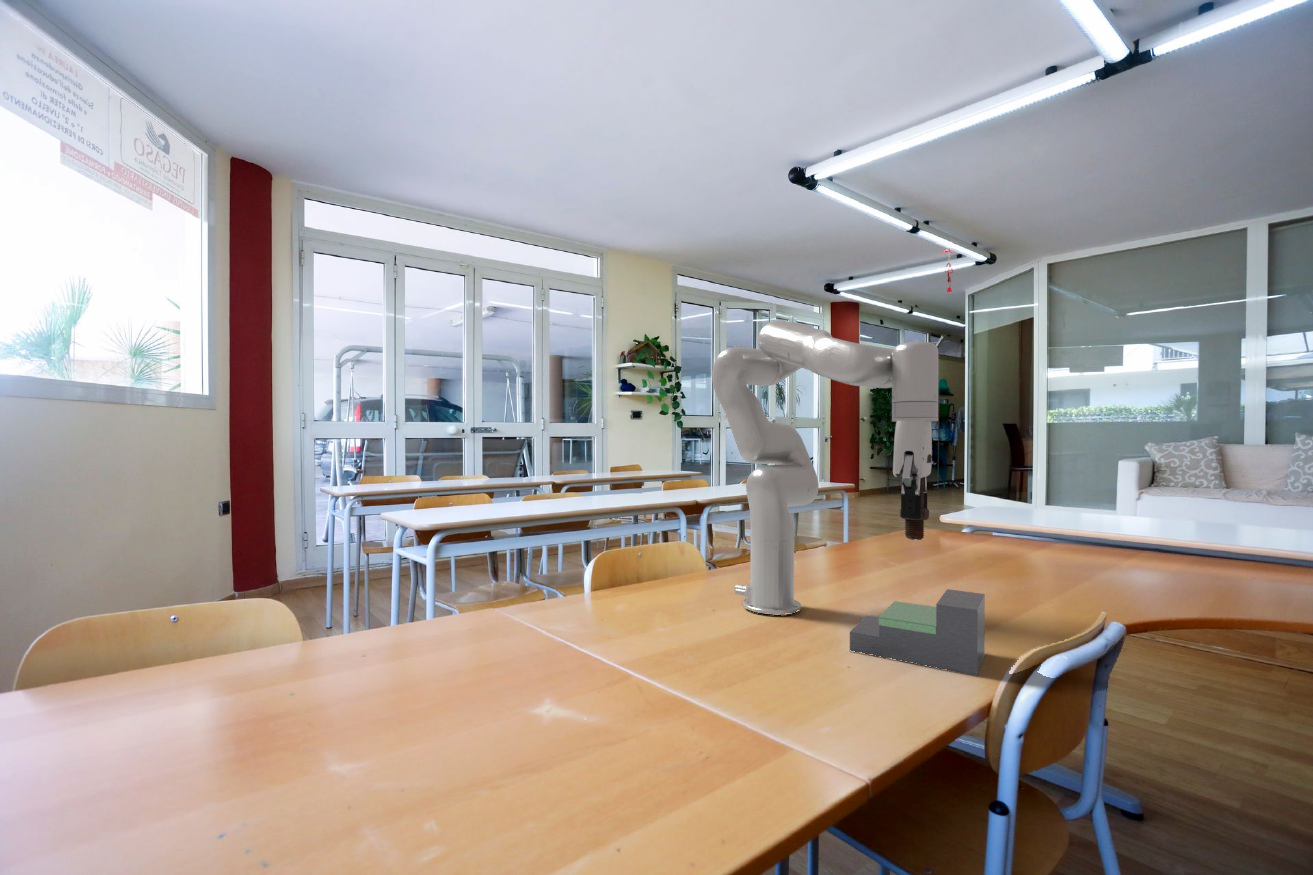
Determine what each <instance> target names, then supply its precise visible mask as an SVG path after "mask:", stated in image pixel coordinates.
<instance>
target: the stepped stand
mask: <svg viewBox="0 0 1313 875" xmlns="http://www.w3.org/2000/svg"><path fill="white" fill-rule="evenodd" d="M985 596H986V594H985V593H980V592H973V591H972V592H971V591H965V590H956V589H955V590H954V589H948V588H946V590H945V591H944V593H943V594H942V596H941V597H940V598H939V600H938V601H937V602H936V606H931V605H925V604H917V603H910V602H904V601H897V600H894V601H893V602H892V603H891V604H890V605H888V607H887V608H885V610H884V611H883V612H882V613H881V614H880V615H879V616H873V615H868V614H867V615H866V616H865V617H864V618H863V619H862V620H861V621H859V623H857V624H856V625H855V626H854V627H852V629H851V630H850V631H849V651H850V650H851V651H855V652H862V653H865V654H873V655H876V656H881V657H885V658H884V659H886V658H892V659H896V660H902V661H907V662H913V663H917V664H920V665H919V666H922V665H927V666H931V667H930V668H932V667H937V668H939V669H938V670H942V669H947V670H946V671H948V670H949V672H953V671H954V672H955V673H960V674H962V675H963V674H964V675H969V676H974V677H978V676H979V673H980V669H981V666H982V663H983V660H984V657H985V654H986V653H985V648H986V647H985V641H986V640H985V638H986V637H985V636H986V635H985V634H986V632H985V628H986V627H985V624H986V622H985V621H986V620H985V615H986V611H985V608H986V606H985V605H986V604H985V602H986V600H985V599H986V598H985ZM855 652H854V653H855ZM984 653H985V654H984ZM865 654H864V655H865ZM876 656H875V657H876ZM881 657H880V658H881ZM896 660H895V661H896ZM917 664H916V665H917ZM927 666H926V667H927ZM937 668H936V669H937ZM954 672H953V673H954Z"/></svg>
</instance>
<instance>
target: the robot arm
mask: <svg viewBox="0 0 1313 875" xmlns="http://www.w3.org/2000/svg"><path fill="white" fill-rule="evenodd" d="M757 343H758V346H759V348H752V347H746V346H737V347H735V346H734V347H729V348H726V349H723V350H722V351H721V352H720V353H719V354H718V355H717V357H716V358H715V360H714V363H713V366H712V374H711V376H712V377H711V379H712V380H711V381H712V385H713V390H714V392H715V396H716V397H717V400H718V401H719V404H720V405H721V408H722V409H723V411H724V413H725V416H726V419H727V422H728V425H729V428H730V430H731V434H732V436H733V438H734V442H735V444H736V447H737V449H738V452H739V455H740V456H741V458H742V459H743V460H744V461H745V462H746V463H748V464H756V465H759V464H760V465H761V466H759V467H757V468H755V469H754V470H752V471H751V473H750V474H749V475H748V477H747V480H746V484H745V491H746V497H747V502H748V506H749V517H750V518H749V520H750V522H749V523H750V584H748V585H745V584H740V583H736V584H735V586H734V592H735V595H738V596H739V595H741V596H744V597H745V599H744V600H743V603H742V605H744V607H745V608H747V609H749V610H753V611H755V612H758V613H769V614H785V613H794V612H796V611H797V610H800V609H801V610H802V604H801V602H800V601H798V600H796V599H795V527H794V522H793V518H792V517H791V514H790V511H789V508H791V507H792V508H794V507H800V506H807V505H810V504H811V503H812V502H814V500H816V498H817V496H818V493H819V479H818V475H817V472H816V470H815V467H814V465H813V462H812V460H811V457H810V456H809V453H808V451H807V450H808V449H807V448H806V445H805V443H804V440H803V439H802V436H801V435H800V433H799V432H798V430H796V429H795V428H794V427H793V426H792V425H790V424H786V423H780V422H771V421H770V420H769V419H768V418H767V414H766V413H765V411H764V409H763V405H762V403H761V401H760V400H759V398H758V397H757V395H755V393H753V391H751V390H750V387H748V386H747V385H751V386H752V385H753V386H763V387H765V386H767V387H769V386H770V387H771V386H774V385H778V384H779V383H781V382H782V381H784V380H785V379H787V378H788V377H790V376H791V375H792V374H794V373H796V372H797V371H799V370H800V369H805V370H807V371H810V372H811V373H813V374H816V375H818V376H819V377H820V376H821V377H823V378H827V379H829V380H832V381H836V382H838V383H842V384H845V385H850V386H856V387H869V388H877V389H878V388H879V389H890V388H891V422H892V423H893V422H895V429H894V441H893V442H894V443H893V461H892V475H893V476H894V477H895V478H902V479H901V491H900V492H901V495H900V509H901V517H902V518H913V519H920V518H921V495H919V494H920V478H923V477H924V486H923V487H924V488H923V489H924V490H923V491H924V492H923V493H924V507H923V508H927V509H928V493H927V491H928V487H927V477H928V476H929V475H931V473H932V463H933V462H932V463H927V458H928V455H929V454H931V456H932V457H933V449H932V448H933V444H932V442H933V441H932V440H933V438H932V436H933V434H932V433H933V432H932V422H939V349H938V347H937V345H936V344H935V343H932V342H930V341H929V342H928V341H909V342H908V341H907V342H902V343H900V344H897V345H896V346H895V347H894V348H891V347H890V348H888V347H882V346H878V345H877V346H876V345H870V344H863V343H857V342H852V341H848V340H843V339H840V338H835V337H833V336H832V334H831V333H830V332H828V330H827V331H826V330H825V329H821V328H820V329H819V328H815V327H811V326H810V325H807V324H804V323H797V322H793V321H787V320H774V321H771V322H769V323H767V324H765V325H764V326H763V327H762V328H761V329H760V331H759V334H758V337H757ZM762 464H763V465H762ZM765 464H767V465H765ZM912 474H917V476H912ZM915 481H916V483H915ZM915 484H916V486H915ZM901 517H900V518H901ZM902 518H901V519H902ZM744 607H743V608H744ZM745 608H744V609H745ZM758 613H757V614H758Z"/></svg>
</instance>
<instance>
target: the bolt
mask: <svg viewBox="0 0 1313 875" xmlns="http://www.w3.org/2000/svg"><path fill="white" fill-rule="evenodd" d="M932 457H933V455H932V456H931V454H929V455H928V458H927V463H933V460H932V459H933V458H932ZM912 476H917V474H912ZM915 483H916V481H915ZM915 486H916V484H915ZM923 486H924V477H923V478H920V494H919V495H921V518H920V519H913V518H902V517H901V508H900V509H899V517H900V519H903V520H904V528H905V529H904V535H905V538H906V539H908V540H910V541H912V540H913V541H914V540H918V541H921V540H922V539H924V538H925V535H924V534H925V531H924V530H925V521H926V520H929V518H930V510H929V508H928V507H927V508H923V507H924V493H923V492H924V491H923V490H924V489H923V488H924V487H923Z"/></svg>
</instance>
